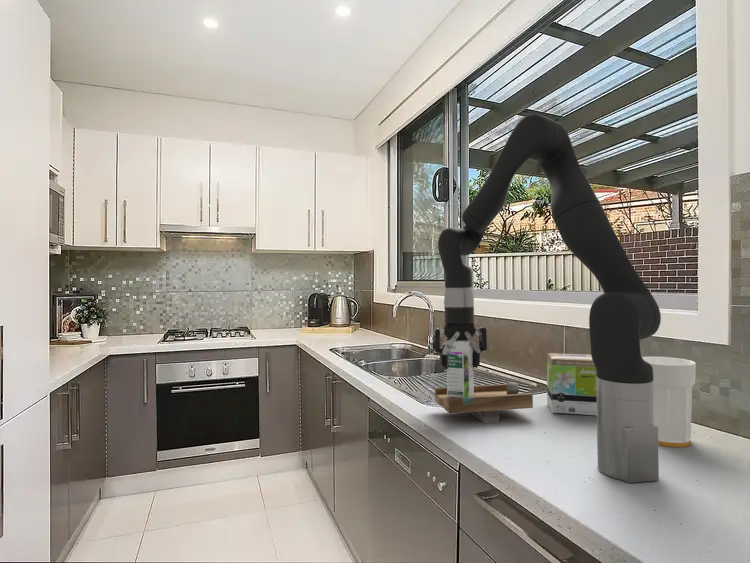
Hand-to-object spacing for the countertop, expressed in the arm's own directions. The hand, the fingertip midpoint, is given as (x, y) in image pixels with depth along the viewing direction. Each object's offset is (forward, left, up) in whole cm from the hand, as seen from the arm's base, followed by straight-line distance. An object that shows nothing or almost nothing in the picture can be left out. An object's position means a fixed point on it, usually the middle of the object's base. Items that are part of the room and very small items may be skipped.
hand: (460, 367), depth 118 cm
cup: (-25, -38, -13) cm, 47 cm away
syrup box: (0, 0, -7) cm, 7 cm away
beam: (0, -6, -13) cm, 14 cm away
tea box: (-1, -33, -13) cm, 35 cm away
